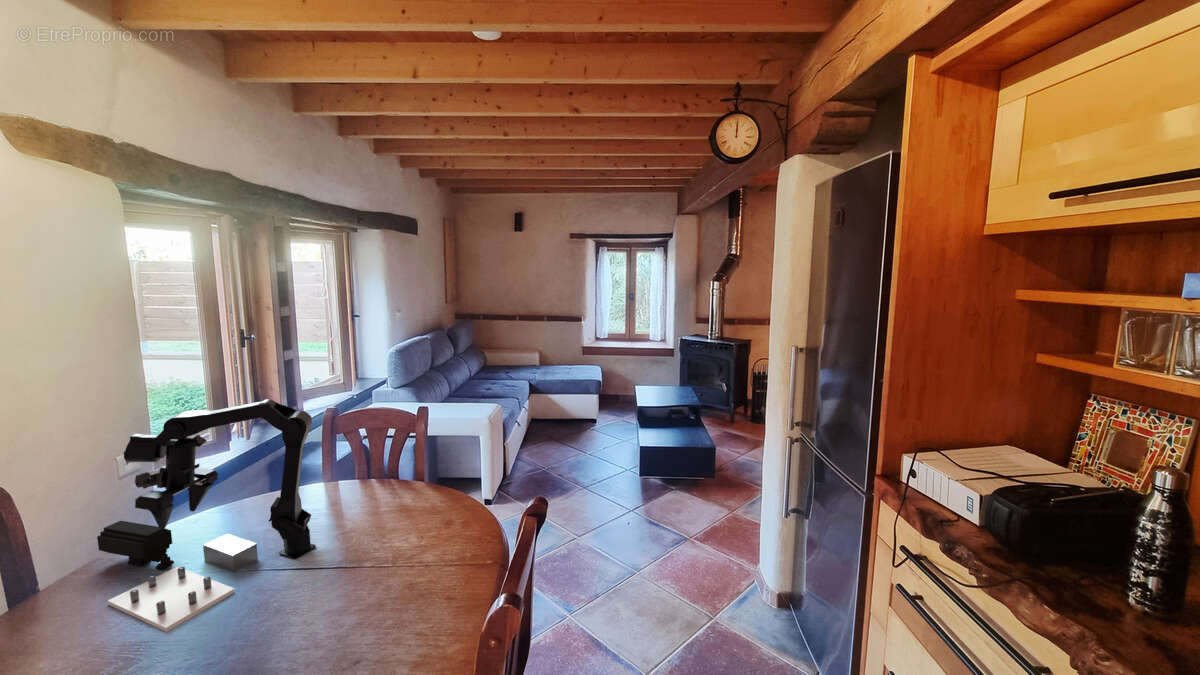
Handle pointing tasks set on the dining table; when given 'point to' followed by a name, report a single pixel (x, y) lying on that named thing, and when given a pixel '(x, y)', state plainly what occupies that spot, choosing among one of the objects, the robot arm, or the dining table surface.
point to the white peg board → (171, 598)
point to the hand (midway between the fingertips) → (177, 519)
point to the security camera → (137, 543)
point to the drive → (230, 552)
